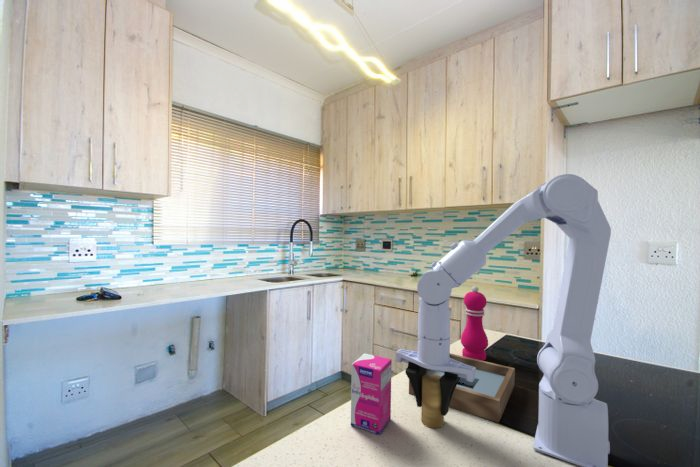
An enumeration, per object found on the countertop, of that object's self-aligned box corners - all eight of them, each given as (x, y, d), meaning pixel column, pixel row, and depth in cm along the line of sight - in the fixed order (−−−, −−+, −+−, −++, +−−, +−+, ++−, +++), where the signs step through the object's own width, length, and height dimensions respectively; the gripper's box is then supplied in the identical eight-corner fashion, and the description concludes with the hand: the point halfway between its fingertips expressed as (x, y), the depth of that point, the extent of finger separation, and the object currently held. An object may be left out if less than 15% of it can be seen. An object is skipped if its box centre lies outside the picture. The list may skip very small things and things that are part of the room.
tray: (514, 385, 74) (514, 368, 74) (498, 422, 60) (499, 401, 59) (438, 365, 85) (438, 350, 85) (408, 393, 70) (409, 375, 70)
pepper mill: (491, 363, 87) (492, 289, 87) (463, 361, 88) (464, 287, 88) (484, 353, 94) (485, 284, 94) (458, 351, 95) (459, 283, 95)
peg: (446, 420, 60) (447, 377, 60) (439, 431, 57) (439, 385, 57) (426, 413, 62) (426, 371, 62) (417, 423, 59) (418, 379, 59)
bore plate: (508, 385, 74) (509, 377, 74) (494, 418, 61) (494, 407, 61) (440, 368, 83) (440, 360, 83) (415, 392, 70) (415, 383, 70)
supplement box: (349, 426, 58) (350, 362, 58) (363, 410, 63) (364, 352, 63) (379, 436, 55) (380, 369, 55) (391, 419, 60) (392, 357, 60)
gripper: (480, 337, 59) (479, 412, 59) (407, 323, 67) (406, 388, 67) (469, 348, 53) (468, 431, 53) (390, 331, 61) (389, 403, 61)
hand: (432, 408), depth 60 cm, fingers closed on peg, 4 cm apart
